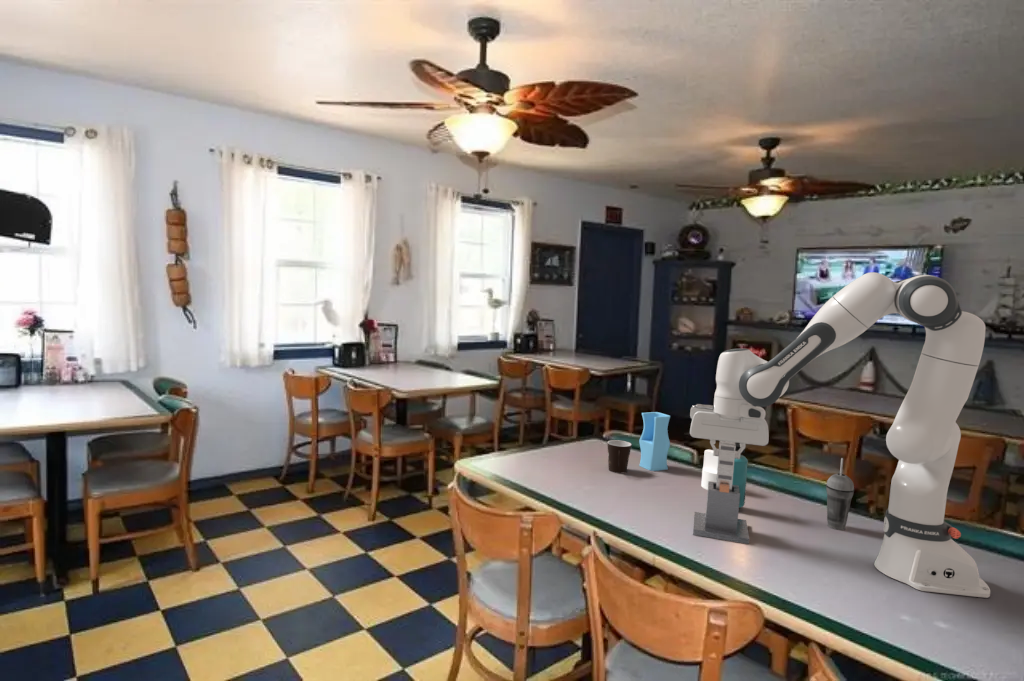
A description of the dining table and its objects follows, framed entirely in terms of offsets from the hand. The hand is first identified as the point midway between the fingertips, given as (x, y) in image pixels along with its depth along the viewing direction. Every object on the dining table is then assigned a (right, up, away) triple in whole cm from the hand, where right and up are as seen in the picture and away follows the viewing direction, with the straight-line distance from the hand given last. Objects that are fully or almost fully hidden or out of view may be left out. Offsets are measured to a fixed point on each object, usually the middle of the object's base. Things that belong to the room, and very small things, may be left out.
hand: (726, 457), depth 162 cm
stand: (-1, -21, +2) cm, 21 cm away
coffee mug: (-21, -15, +51) cm, 58 cm away
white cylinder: (+10, -18, +39) cm, 44 cm away
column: (-1, -18, +1) cm, 18 cm away
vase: (-6, -16, +59) cm, 61 cm away
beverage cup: (+35, -22, +9) cm, 42 cm away
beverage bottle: (+9, -20, +19) cm, 29 cm away
